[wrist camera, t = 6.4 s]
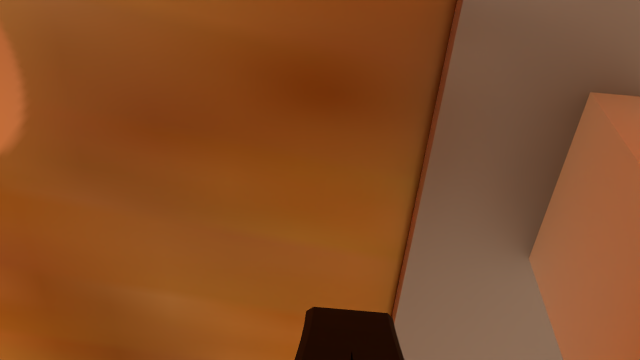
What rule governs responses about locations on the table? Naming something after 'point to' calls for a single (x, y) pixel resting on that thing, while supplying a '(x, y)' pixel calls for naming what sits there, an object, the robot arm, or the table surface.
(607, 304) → the tile
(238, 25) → the table surface
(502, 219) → the slate board
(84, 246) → the table surface
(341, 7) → the table surface
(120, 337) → the table surface
